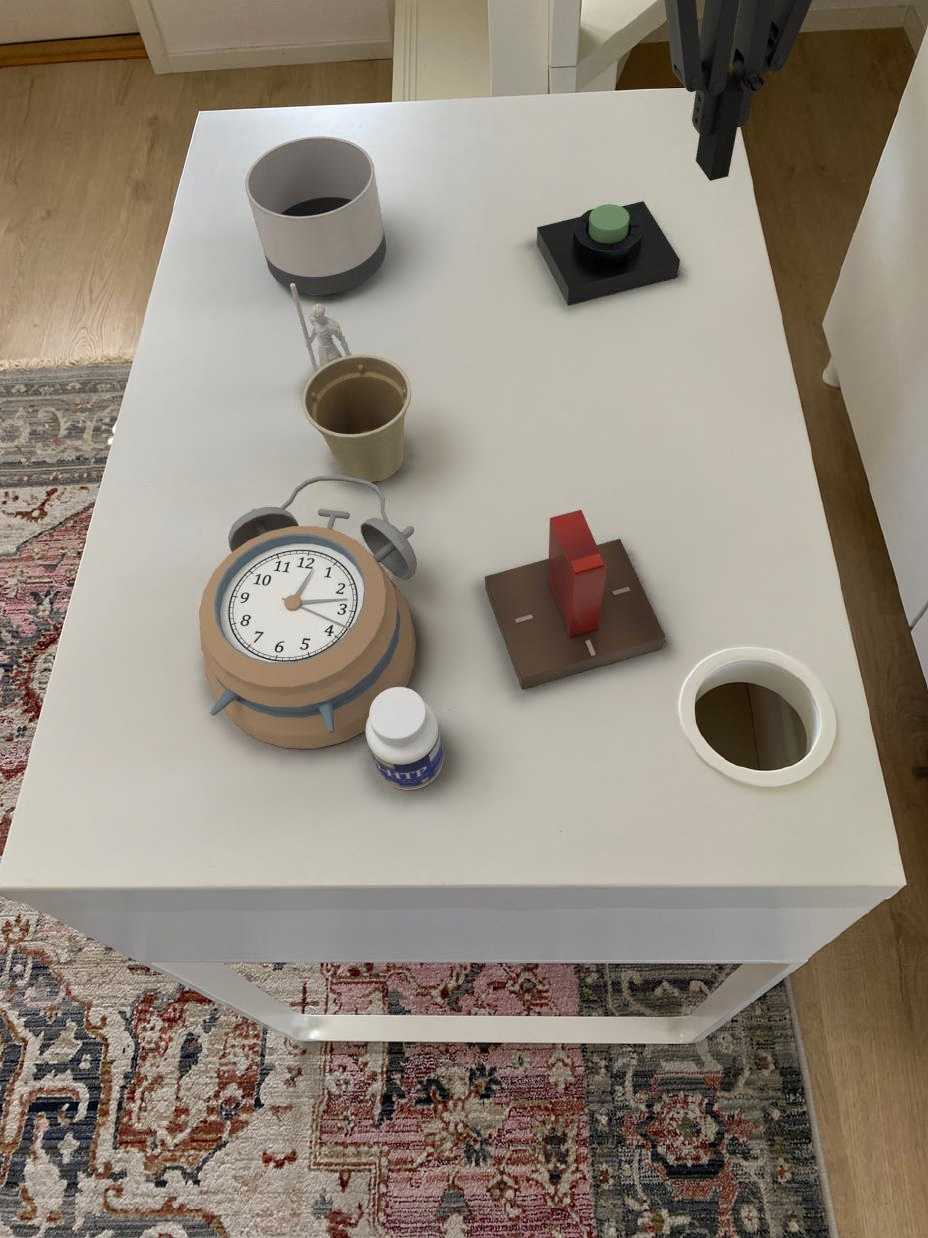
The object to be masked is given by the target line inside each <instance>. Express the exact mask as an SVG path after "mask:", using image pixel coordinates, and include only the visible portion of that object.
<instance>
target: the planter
mask: <svg viewBox="0 0 928 1238" xmlns="http://www.w3.org/2000/svg"><path fill="white" fill-rule="evenodd" d="M376 177H377V176H376V171H375V166H374V162H373V160H372V157H371V156H370V155H369V153H368V152H367V151H366V150H365V149H363V147H361V146H359V145H358V144H356V143H354V142H353V141H349V140H346V139H343V138H339V137H334V136H322V135H321V136H320V135H319V136H306V137H300V138H296V139H292V140H289V141H285V142H283V143H281V144H278V145H276V146H275V147H273V148H270V149H269V150H267V151H266V152H264V153H263V154H262V155H261V156H259V157H258V158H257V159H256V160H255V161H254V163H253V164H252V165H251V166H250V168H249V170H248V172H247V174H246V177H245V183H244V184H245V185H244V186H245V192H246V196H247V200H248V202H249V206H250V209H251V212H252V217H253V219H254V224H255V226H256V231H257V234H258V237H259V241H260V244H261V248H262V251H263V254H264V257H265V260H266V264H267V268H268V270H269V272H270V274H271V276H272V277H273V278H274V280H275V281H277V282H278V283H279V284H280V285H282V286H283V287H285V288H286V289H289V290H291V288H290V284H292V283H294V284H295V286H296V289H297V292H298V293H301V294H305V295H315V296H316V295H318V296H319V295H320V296H321V295H323V296H324V295H331V294H332V295H333V294H338V293H341V292H344V291H348V290H350V289H353V288H355V287H357V286H359V285H361V284H363V283H364V282H366V281H367V280H369V279H370V278H371V277H372V276H373V275H374V274H376V272H377V271H378V270H379V269H380V267H382V264H383V262H384V261H385V259H386V258H385V257H386V255H387V254H386V253H387V241H386V235H385V229H384V222H383V216H382V211H381V210H382V209H381V204H380V196H379V190H378V184H377V178H376Z"/></svg>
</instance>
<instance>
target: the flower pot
mask: <svg viewBox="0 0 928 1238" xmlns="http://www.w3.org/2000/svg"><path fill="white" fill-rule="evenodd" d="M411 400H412V385H411V382H410V379H409V377H408V375H407V374H406V372H405V371H404V370H403V368H401V366H399V365H398V364H396V363H395V362H394V361H392V360H389V359H387V358H385V357H382V356H378V355H374V354H366V353H365V354H363V353H362V354H361V353H360V354H352V355H350V356H345V355H344V356H343V357H341V358H338V359H336V360H333V361H331V362H329V363H327V364H326V365H324V366H322V367H321V366H320V367H319V368H318V370H317V371H316V372H315V373H314V372H313V374H312V375H311V376H310V378H309V379H308V381H307V382H306V383H305V386H304V388H303V390H302V395H301V407H302V411H303V414H304V416H305V417H306V419H307V421H308V422H309V423H310V424H311V426H313V427H314V428H315V430H317V431H318V432H319V433H320V434H321V435H322V436H323V438H324V441H325V442H326V445H327V447H328V449H329V450H330V452H331V454H332V457H333V458H334V460H335V462H336V464H337V467H338V469H339V470H340V471H341V473H342V474H343V476H347V477H352V478H358V479H362V480H365V481H369V482H371V483H373V482H378V481H379V482H380V481H385V480H387V479H389V478H391V477H392V476H393V475H394V474H396V472H397V471H398V470H399V469H400V467H401V466H402V464H403V462H404V457H405V449H404V448H405V445H404V442H405V440H404V439H405V416H406V414H407V411H408V409H409V406H410V404H411Z"/></svg>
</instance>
